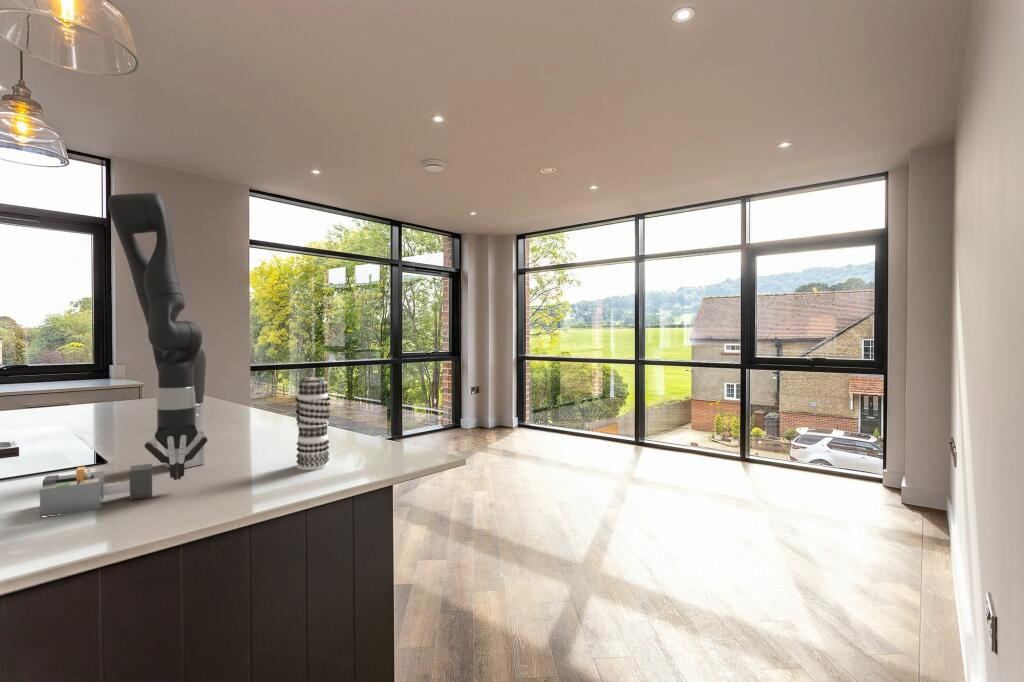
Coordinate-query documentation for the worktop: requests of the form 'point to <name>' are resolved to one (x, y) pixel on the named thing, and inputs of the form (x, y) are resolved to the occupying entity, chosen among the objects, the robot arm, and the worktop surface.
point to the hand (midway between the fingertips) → (177, 478)
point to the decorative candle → (312, 423)
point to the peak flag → (80, 473)
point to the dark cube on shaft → (131, 483)
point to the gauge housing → (71, 494)
